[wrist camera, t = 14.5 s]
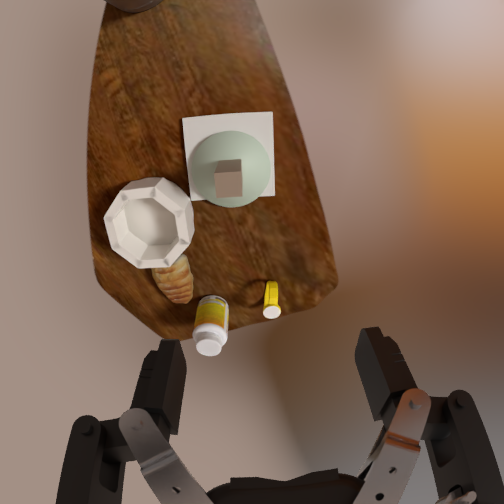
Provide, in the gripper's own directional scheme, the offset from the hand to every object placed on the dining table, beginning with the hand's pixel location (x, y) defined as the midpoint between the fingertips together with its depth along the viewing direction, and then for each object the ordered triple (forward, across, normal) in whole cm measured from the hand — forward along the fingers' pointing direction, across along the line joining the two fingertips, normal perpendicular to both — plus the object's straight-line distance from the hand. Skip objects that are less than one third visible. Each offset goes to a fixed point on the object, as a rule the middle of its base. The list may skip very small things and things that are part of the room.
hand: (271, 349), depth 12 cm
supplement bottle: (+32, +8, +24) cm, 41 cm away
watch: (+32, -2, +21) cm, 39 cm away
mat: (+32, +3, -2) cm, 32 cm away
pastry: (+33, +14, +17) cm, 39 cm away
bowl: (+32, +15, +6) cm, 36 cm away
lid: (+32, +3, 0) cm, 32 cm away
